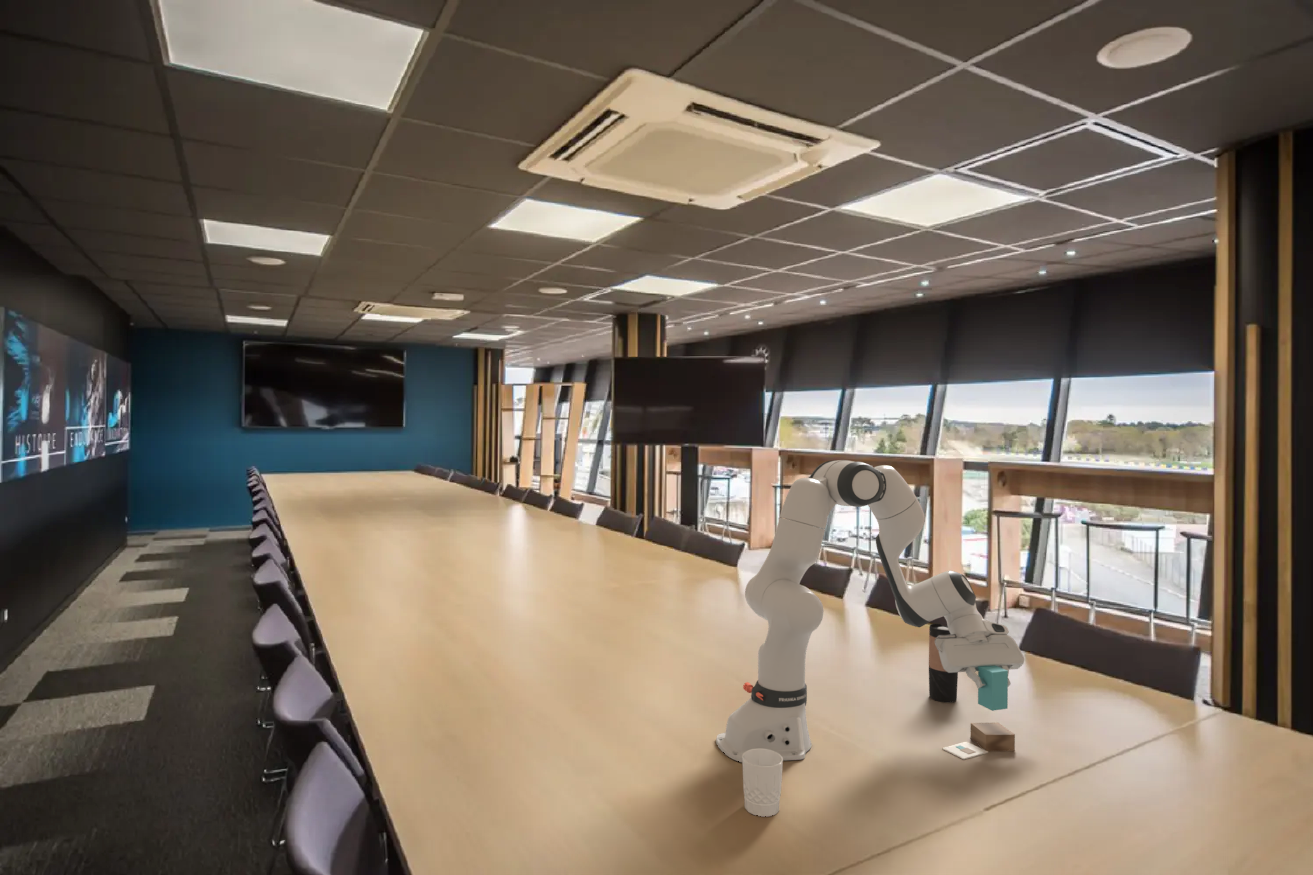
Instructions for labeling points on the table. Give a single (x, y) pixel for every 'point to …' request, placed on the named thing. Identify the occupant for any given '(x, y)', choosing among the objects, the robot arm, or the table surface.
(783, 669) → the robot arm
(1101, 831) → the table surface
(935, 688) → the travel mug
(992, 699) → the teal brick
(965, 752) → the page
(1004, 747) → the walnut brick
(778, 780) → the white cup
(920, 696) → the table surface
